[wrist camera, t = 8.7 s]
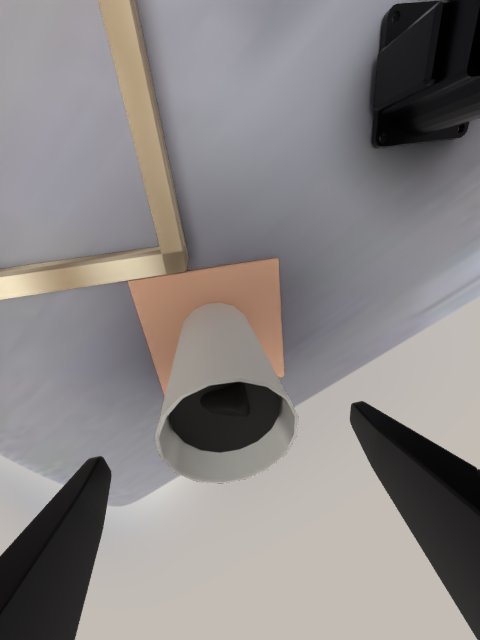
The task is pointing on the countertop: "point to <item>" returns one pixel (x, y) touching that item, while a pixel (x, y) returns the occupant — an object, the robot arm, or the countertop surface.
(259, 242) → the countertop surface
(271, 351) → the terracotta mat
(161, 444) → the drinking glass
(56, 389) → the countertop surface
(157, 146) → the beige angled bar
